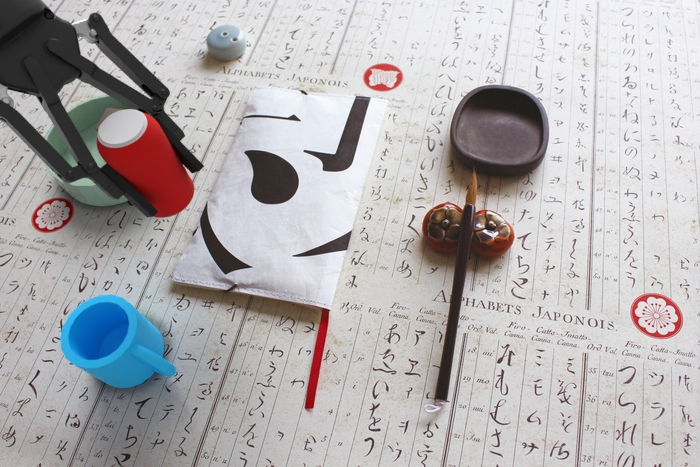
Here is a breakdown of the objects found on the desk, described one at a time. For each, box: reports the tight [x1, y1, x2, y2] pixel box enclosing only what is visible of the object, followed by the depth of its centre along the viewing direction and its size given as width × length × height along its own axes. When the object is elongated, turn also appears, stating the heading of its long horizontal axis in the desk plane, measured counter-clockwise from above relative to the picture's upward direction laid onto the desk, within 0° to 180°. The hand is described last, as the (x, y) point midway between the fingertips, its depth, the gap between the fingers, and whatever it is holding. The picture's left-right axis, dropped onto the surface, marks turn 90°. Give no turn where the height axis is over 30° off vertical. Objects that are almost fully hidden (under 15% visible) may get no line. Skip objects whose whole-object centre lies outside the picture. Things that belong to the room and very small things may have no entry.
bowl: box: [42, 94, 131, 207], centre depth 78 cm, size 16×16×5 cm
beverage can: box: [97, 109, 195, 219], centre depth 57 cm, size 6×6×12 cm
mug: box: [59, 294, 177, 389], centre depth 62 cm, size 12×8×8 cm
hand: (175, 191), depth 57 cm, fingers closed on beverage can, 6 cm apart
